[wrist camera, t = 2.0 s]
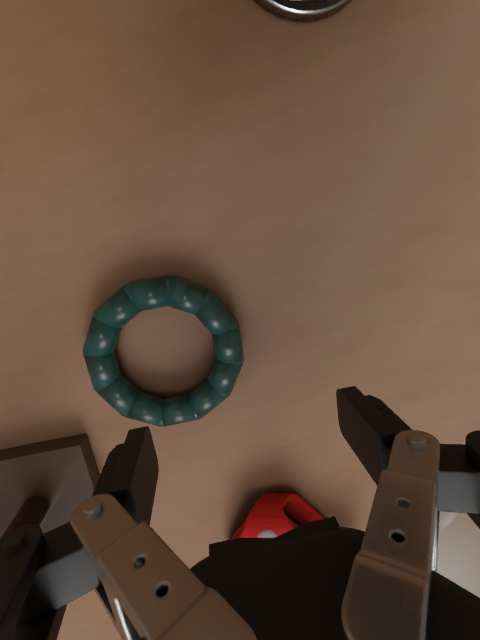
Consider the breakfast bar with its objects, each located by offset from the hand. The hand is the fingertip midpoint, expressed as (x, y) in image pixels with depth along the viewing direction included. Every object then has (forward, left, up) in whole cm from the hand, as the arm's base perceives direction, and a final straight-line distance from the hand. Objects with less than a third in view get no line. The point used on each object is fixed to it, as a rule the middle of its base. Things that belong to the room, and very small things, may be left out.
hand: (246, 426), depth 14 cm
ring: (0, -5, -11) cm, 12 cm away
